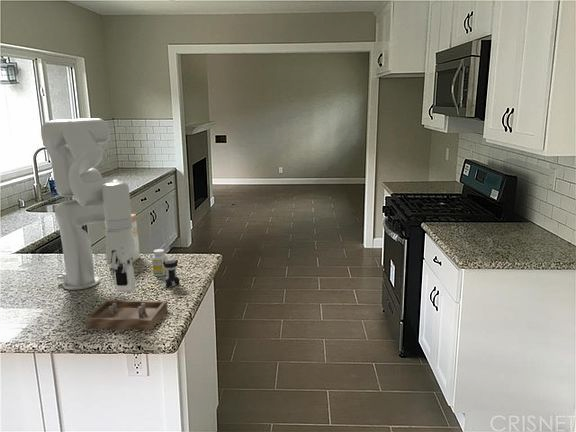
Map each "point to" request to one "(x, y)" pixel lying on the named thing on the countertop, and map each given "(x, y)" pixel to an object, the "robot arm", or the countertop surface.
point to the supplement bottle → (159, 262)
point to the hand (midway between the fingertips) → (125, 282)
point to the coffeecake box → (135, 236)
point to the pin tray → (127, 315)
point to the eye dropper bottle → (130, 279)
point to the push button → (171, 272)
